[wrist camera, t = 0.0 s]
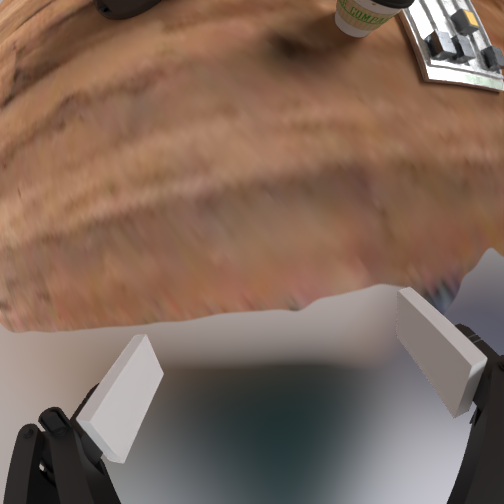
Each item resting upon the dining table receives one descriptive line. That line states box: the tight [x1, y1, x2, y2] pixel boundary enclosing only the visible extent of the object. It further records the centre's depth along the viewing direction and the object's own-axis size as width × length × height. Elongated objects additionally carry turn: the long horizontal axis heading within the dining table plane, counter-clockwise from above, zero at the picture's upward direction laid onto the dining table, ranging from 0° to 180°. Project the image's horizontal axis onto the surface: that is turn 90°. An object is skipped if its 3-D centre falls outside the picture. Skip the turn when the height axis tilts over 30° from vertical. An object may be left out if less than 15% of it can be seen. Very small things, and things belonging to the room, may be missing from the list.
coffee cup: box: [335, 0, 415, 37], centre depth 24 cm, size 10×10×15 cm
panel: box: [398, 0, 504, 92], centre depth 26 cm, size 26×22×6 cm
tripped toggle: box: [451, 8, 480, 35], centre depth 24 cm, size 4×3×4 cm
